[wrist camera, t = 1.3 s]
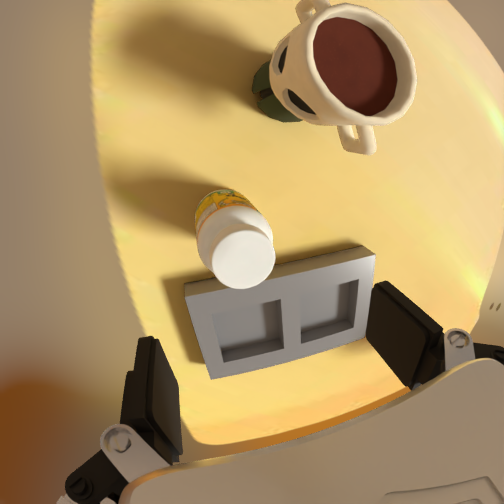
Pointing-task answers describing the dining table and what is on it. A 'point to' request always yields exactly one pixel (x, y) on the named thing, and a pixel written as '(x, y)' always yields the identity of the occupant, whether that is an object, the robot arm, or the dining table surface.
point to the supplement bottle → (234, 239)
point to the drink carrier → (283, 312)
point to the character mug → (339, 73)
